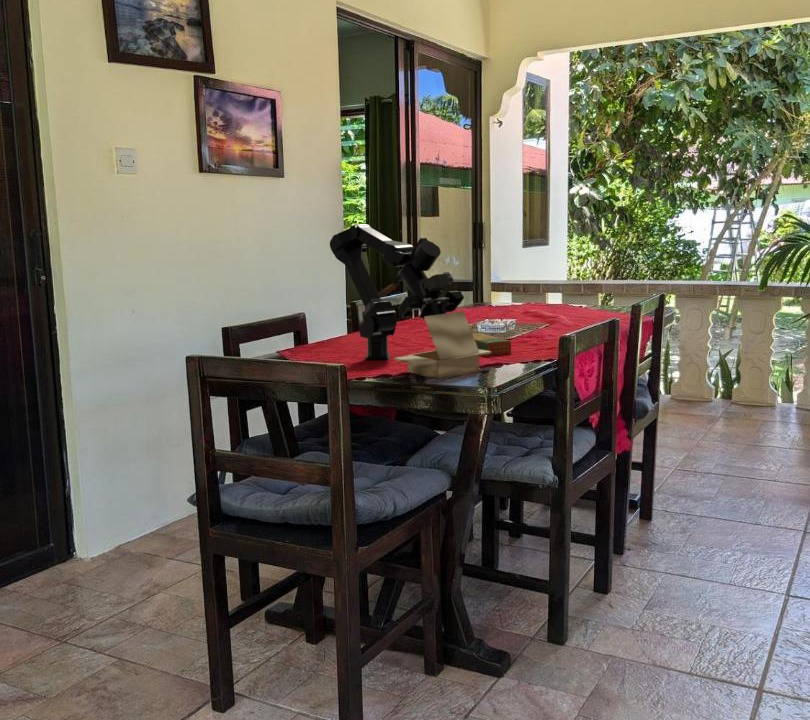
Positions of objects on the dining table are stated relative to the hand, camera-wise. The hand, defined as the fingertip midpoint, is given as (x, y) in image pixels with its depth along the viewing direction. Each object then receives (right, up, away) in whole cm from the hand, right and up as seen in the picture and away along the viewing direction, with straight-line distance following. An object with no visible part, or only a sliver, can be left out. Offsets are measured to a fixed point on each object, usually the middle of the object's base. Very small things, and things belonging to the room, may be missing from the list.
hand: (447, 329), depth 213 cm
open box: (-1, -11, +3) cm, 11 cm away
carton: (+13, -6, +33) cm, 36 cm away
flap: (+1, -2, -1) cm, 2 cm away
